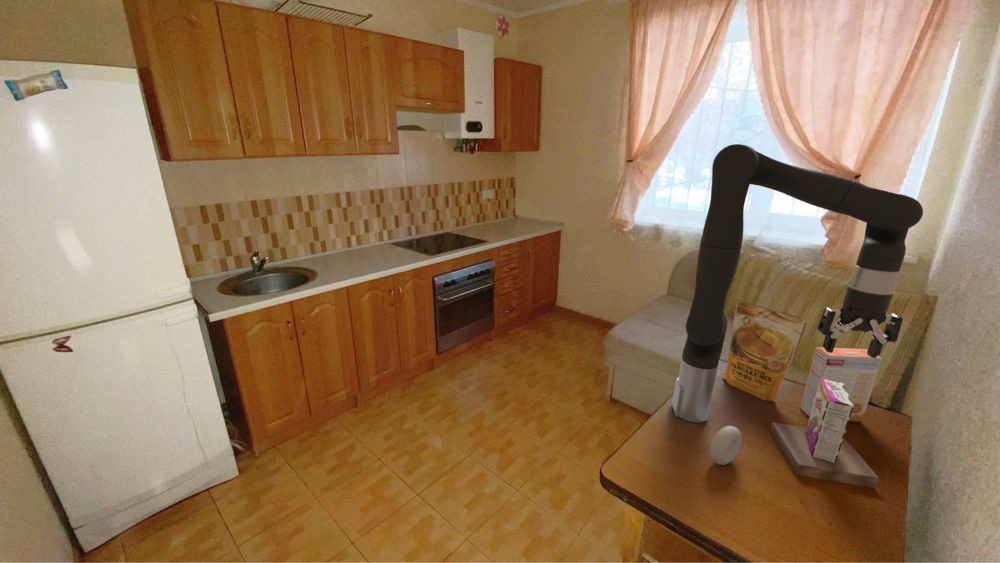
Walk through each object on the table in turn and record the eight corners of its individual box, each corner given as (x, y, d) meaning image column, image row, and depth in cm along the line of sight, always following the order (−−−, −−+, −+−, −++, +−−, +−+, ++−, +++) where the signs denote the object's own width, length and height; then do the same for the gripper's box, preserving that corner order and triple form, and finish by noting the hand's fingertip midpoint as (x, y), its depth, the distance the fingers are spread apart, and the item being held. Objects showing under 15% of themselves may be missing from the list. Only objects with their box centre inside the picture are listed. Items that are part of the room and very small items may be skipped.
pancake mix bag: (725, 373, 139) (741, 298, 130) (786, 400, 123) (809, 317, 115) (715, 378, 135) (730, 302, 126) (776, 407, 120) (799, 322, 111)
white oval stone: (727, 450, 102) (734, 417, 99) (740, 458, 99) (748, 425, 96) (703, 464, 97) (710, 430, 94) (717, 474, 94) (724, 439, 91)
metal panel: (795, 474, 95) (798, 464, 94) (769, 431, 109) (772, 422, 108) (874, 488, 91) (878, 477, 90) (837, 441, 106) (840, 432, 105)
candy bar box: (803, 431, 105) (819, 377, 100) (827, 437, 103) (844, 382, 98) (809, 457, 96) (827, 399, 91) (835, 465, 94) (855, 406, 88)
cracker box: (846, 410, 119) (867, 348, 113) (862, 423, 113) (885, 358, 107) (797, 407, 120) (815, 345, 114) (810, 419, 114) (829, 355, 108)
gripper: (842, 289, 84) (822, 357, 89) (923, 296, 81) (897, 366, 86) (824, 279, 91) (806, 342, 96) (898, 285, 88) (875, 350, 93)
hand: (849, 353), depth 91 cm, fingers open, 8 cm apart
